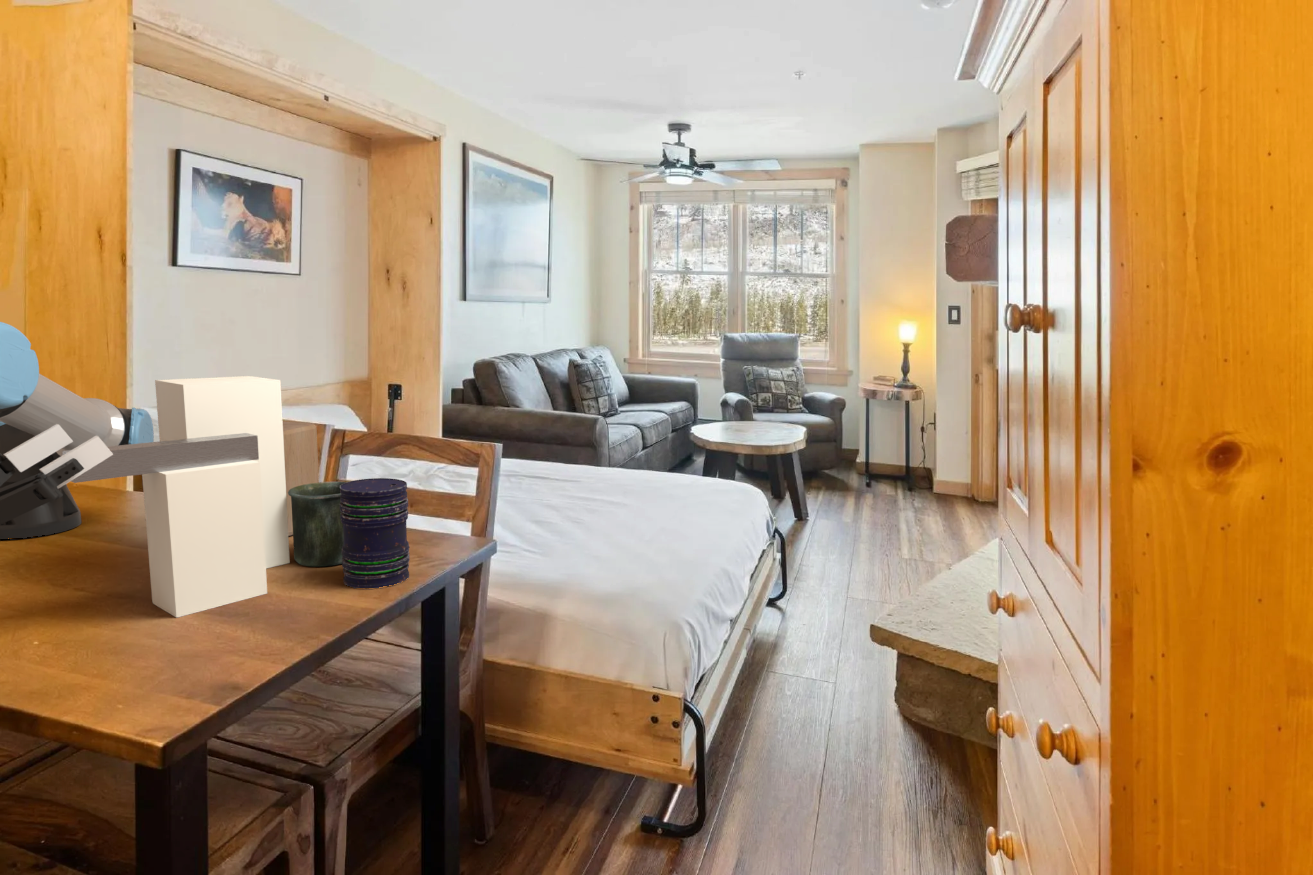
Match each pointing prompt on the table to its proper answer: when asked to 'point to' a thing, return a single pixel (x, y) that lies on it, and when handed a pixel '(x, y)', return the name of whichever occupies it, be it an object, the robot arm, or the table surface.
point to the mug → (317, 524)
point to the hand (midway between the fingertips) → (84, 438)
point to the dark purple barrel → (374, 532)
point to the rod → (173, 456)
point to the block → (299, 459)
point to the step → (205, 536)
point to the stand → (235, 411)
